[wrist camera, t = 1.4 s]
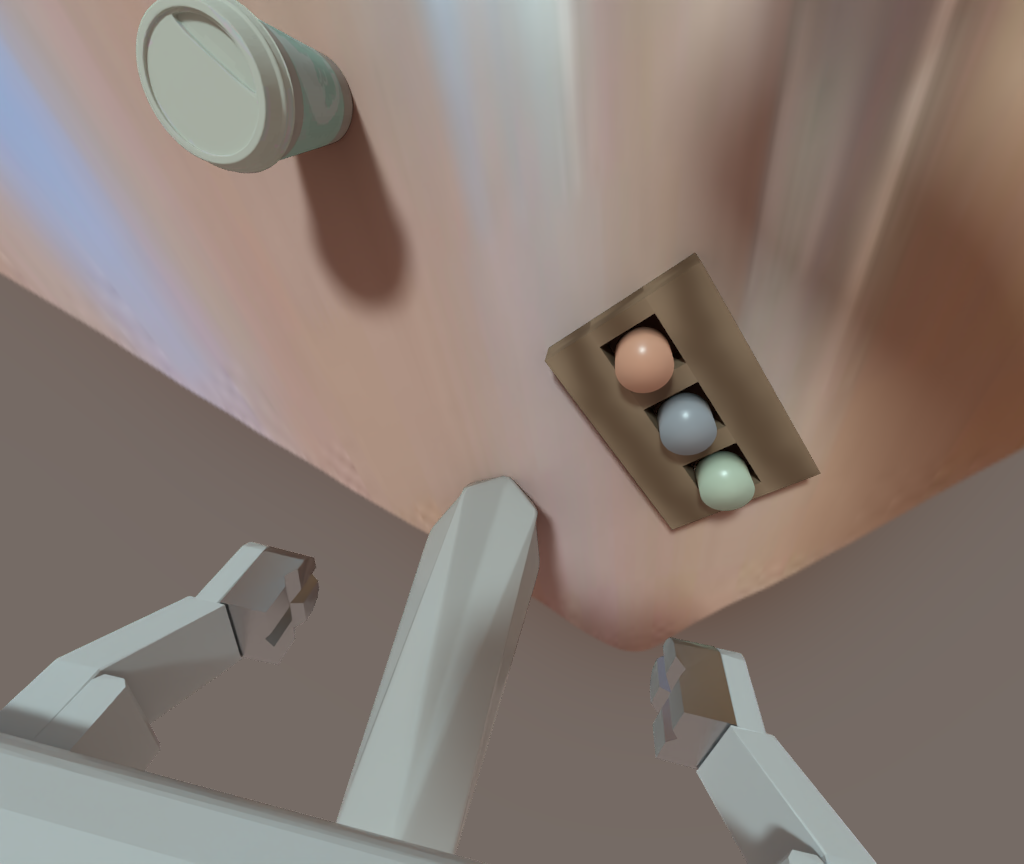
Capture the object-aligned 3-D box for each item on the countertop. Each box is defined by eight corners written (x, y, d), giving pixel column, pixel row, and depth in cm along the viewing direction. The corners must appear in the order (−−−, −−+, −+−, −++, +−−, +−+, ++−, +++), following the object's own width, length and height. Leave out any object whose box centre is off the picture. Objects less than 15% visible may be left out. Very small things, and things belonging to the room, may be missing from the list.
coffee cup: (388, 145, 36) (302, 150, 26) (297, 177, 39) (188, 193, 29) (339, 4, 32) (216, -53, 22) (242, 50, 35) (92, 18, 25)
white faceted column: (576, 515, 53) (536, 927, 25) (499, 551, 58) (396, 924, 31) (508, 438, 49) (374, 827, 22) (432, 484, 54) (246, 843, 27)
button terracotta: (652, 316, 37) (655, 329, 35) (680, 359, 39) (684, 375, 36) (604, 345, 39) (604, 360, 37) (632, 385, 41) (633, 402, 38)
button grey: (695, 383, 39) (700, 400, 37) (719, 422, 41) (726, 440, 38) (647, 408, 41) (650, 425, 39) (672, 443, 43) (676, 463, 40)
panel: (695, 252, 36) (701, 261, 34) (808, 454, 44) (820, 473, 41) (548, 347, 43) (544, 361, 40) (669, 509, 50) (672, 529, 47)
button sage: (733, 443, 42) (740, 463, 39) (754, 477, 43) (763, 498, 41) (686, 463, 44) (691, 483, 41) (708, 496, 45) (714, 517, 43)
